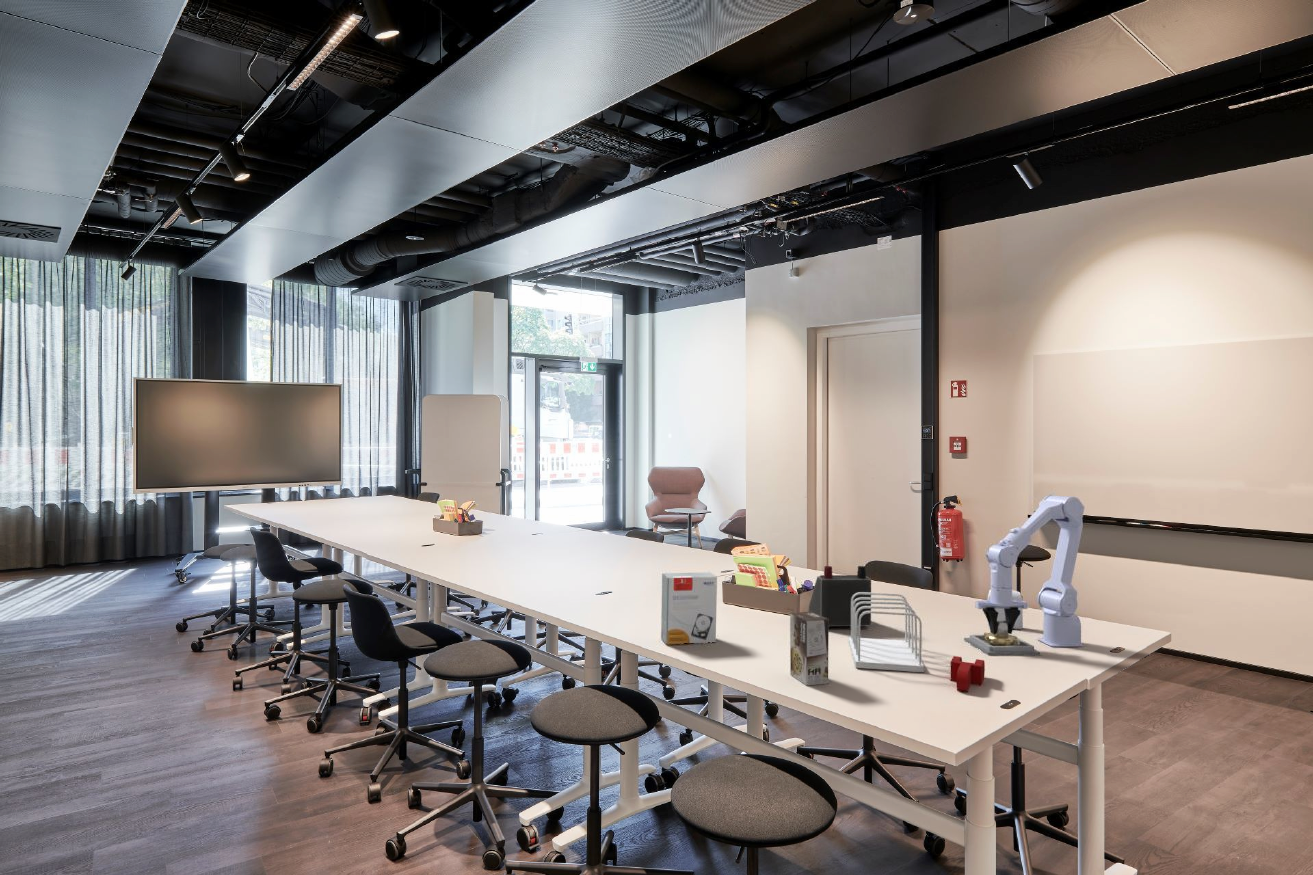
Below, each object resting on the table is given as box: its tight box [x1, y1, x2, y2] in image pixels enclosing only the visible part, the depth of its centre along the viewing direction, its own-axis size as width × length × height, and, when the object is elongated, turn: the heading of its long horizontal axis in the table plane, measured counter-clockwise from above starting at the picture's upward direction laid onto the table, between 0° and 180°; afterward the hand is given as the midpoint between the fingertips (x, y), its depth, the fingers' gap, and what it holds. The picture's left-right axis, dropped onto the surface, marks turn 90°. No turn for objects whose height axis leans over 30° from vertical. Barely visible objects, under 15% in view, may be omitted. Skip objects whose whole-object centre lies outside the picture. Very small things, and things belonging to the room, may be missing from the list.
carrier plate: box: [963, 634, 1042, 656], centre depth 212 cm, size 15×15×2 cm
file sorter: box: [847, 592, 925, 673], centre depth 202 cm, size 25×17×16 cm
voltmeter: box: [808, 565, 872, 630], centre depth 239 cm, size 16×16×20 cm
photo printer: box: [987, 589, 1024, 630], centre depth 235 cm, size 10×4×12 cm, turn 63°
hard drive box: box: [660, 571, 718, 645], centre depth 218 cm, size 16×8×20 cm, turn 102°
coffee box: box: [789, 610, 830, 686], centre depth 183 cm, size 9×6×16 cm
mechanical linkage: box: [950, 655, 986, 693], centre depth 181 cm, size 16×7×5 cm, turn 150°
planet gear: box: [983, 619, 1018, 646], centre depth 212 cm, size 9×9×6 cm
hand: (1001, 633), depth 212 cm, fingers closed on planet gear, 4 cm apart
